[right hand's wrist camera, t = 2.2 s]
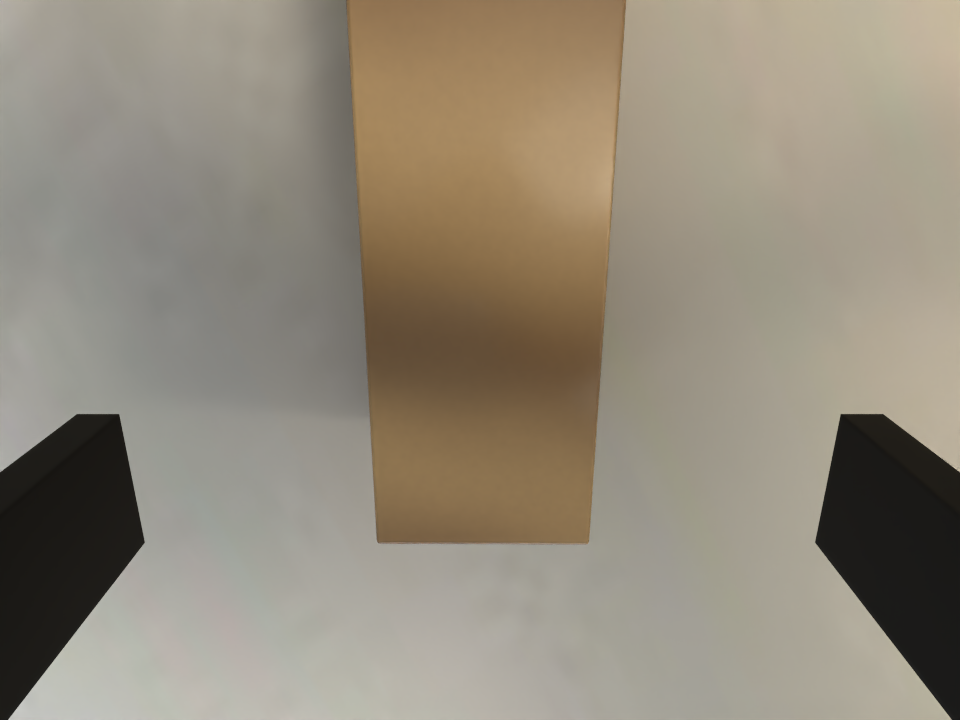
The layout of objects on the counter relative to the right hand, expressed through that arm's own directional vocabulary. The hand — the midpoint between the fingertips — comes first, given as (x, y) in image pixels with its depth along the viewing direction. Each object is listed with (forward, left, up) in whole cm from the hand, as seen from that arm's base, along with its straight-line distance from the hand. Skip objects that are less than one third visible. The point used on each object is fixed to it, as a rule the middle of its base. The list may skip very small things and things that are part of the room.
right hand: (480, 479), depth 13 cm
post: (+8, -25, -12) cm, 29 cm away
